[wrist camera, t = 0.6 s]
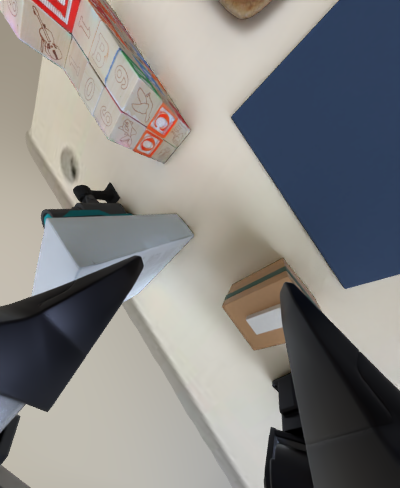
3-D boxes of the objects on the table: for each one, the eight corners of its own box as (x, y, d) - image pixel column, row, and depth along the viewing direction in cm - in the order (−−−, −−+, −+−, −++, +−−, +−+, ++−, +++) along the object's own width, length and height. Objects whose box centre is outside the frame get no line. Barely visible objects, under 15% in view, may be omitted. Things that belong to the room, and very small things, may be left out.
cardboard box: (316, 298, 18) (335, 338, 13) (257, 319, 22) (253, 356, 17) (283, 257, 19) (288, 278, 13) (231, 284, 23) (219, 309, 17)
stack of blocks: (193, 130, 20) (101, 40, 9) (165, 164, 23) (71, 128, 12) (112, 8, 21) (-62, -211, 10) (95, 56, 24) (-52, -69, 13)
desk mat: (586, 219, 10) (598, 219, 10) (343, 287, 17) (345, 289, 16) (388, -49, 11) (392, -58, 10) (231, 118, 18) (230, 116, 17)
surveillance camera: (19, 163, 18) (61, 232, 17) (113, 179, 28) (139, 222, 28) (13, 193, 20) (50, 253, 20) (101, 197, 31) (125, 237, 31)
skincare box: (175, 209, 24) (42, 213, 10) (196, 234, 23) (85, 275, 9) (124, 274, 34) (22, 322, 20) (138, 293, 33) (43, 356, 19)
